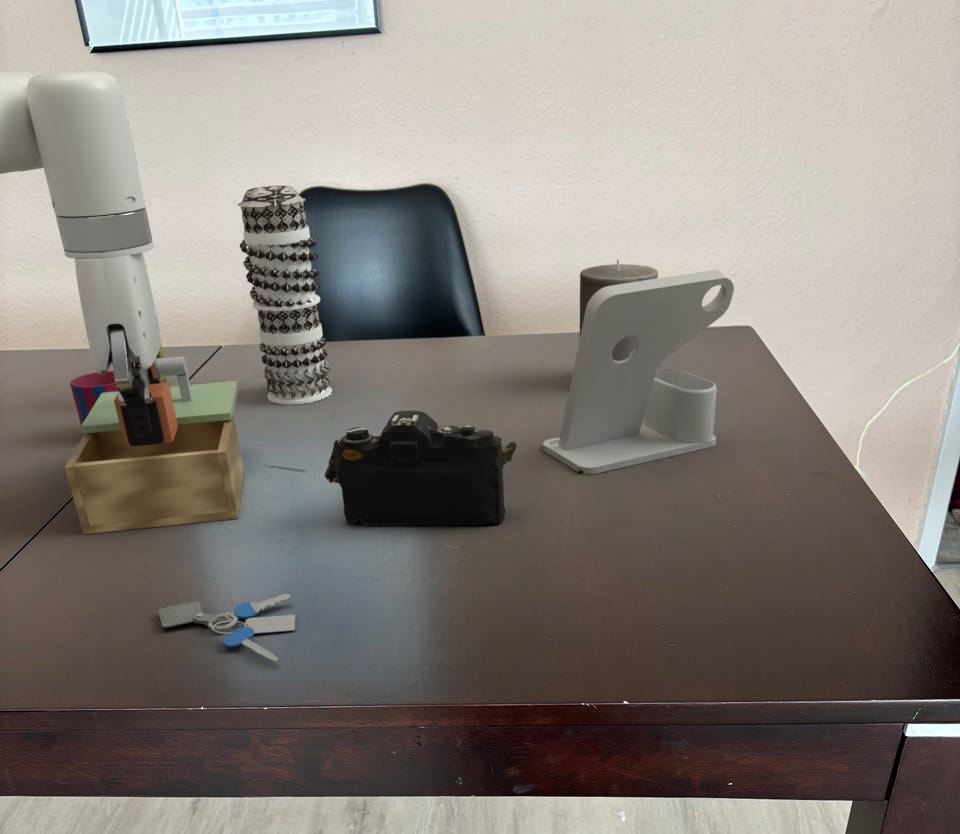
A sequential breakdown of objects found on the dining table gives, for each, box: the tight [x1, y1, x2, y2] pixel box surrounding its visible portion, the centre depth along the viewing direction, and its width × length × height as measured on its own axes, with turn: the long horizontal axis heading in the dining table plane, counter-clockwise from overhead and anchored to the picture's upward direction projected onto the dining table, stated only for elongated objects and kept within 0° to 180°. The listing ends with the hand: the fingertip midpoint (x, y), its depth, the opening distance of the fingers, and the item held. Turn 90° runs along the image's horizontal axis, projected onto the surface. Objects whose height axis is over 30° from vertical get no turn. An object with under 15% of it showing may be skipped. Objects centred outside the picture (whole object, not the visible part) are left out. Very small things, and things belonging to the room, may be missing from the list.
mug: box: [69, 370, 117, 436], centre depth 116 cm, size 7×10×7 cm
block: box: [114, 382, 178, 446], centre depth 94 cm, size 4×4×4 cm
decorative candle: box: [237, 185, 333, 406], centre depth 123 cm, size 9×9×25 cm
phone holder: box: [542, 269, 735, 475], centre depth 102 cm, size 17×10×18 cm, turn 115°
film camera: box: [324, 410, 518, 526], centre depth 93 cm, size 18×12×10 cm
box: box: [64, 413, 246, 535], centre depth 98 cm, size 15×12×7 cm
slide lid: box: [80, 356, 239, 435], centre depth 102 cm, size 15×12×5 cm
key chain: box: [158, 593, 296, 663], centre depth 77 cm, size 14×8×1 cm, turn 58°
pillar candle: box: [579, 259, 659, 361], centre depth 124 cm, size 10×10×15 cm
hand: (150, 433), depth 95 cm, fingers closed on block, 4 cm apart
